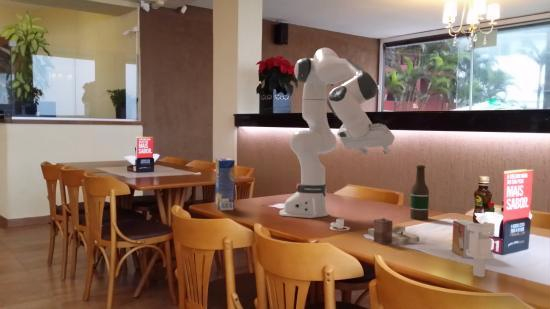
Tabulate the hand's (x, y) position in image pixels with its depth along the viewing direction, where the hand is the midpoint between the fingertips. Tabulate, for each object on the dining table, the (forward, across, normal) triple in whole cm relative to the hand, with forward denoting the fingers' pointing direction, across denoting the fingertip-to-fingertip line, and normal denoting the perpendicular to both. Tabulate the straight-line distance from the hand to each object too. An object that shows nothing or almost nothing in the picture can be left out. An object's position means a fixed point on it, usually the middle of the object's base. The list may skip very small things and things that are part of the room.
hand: (376, 153), depth 175 cm
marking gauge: (+22, -5, +23) cm, 32 cm away
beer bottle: (+53, +11, -12) cm, 56 cm away
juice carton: (+12, +88, +19) cm, 91 cm away
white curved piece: (+24, +22, +17) cm, 37 cm away
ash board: (+25, -2, +19) cm, 32 cm away
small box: (+27, -30, +23) cm, 46 cm away
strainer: (+15, -42, +37) cm, 58 cm away
